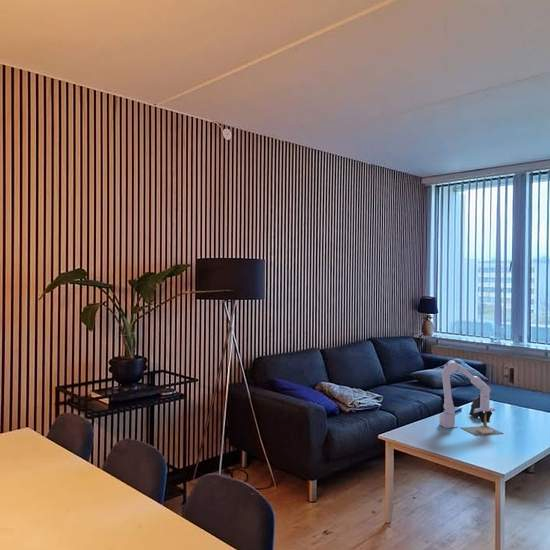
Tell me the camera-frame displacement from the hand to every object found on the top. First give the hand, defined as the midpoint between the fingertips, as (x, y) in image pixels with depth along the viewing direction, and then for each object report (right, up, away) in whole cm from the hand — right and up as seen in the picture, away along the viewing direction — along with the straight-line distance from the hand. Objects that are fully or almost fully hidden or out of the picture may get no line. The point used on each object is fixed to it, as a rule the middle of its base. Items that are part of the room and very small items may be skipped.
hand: (484, 422), depth 325 cm
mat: (-5, -4, -6) cm, 9 cm away
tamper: (0, -3, 0) cm, 3 cm away
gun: (+6, -4, +23) cm, 24 cm away
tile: (-5, -3, -6) cm, 8 cm away
